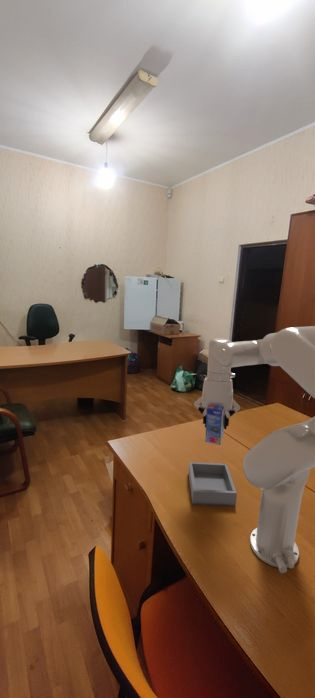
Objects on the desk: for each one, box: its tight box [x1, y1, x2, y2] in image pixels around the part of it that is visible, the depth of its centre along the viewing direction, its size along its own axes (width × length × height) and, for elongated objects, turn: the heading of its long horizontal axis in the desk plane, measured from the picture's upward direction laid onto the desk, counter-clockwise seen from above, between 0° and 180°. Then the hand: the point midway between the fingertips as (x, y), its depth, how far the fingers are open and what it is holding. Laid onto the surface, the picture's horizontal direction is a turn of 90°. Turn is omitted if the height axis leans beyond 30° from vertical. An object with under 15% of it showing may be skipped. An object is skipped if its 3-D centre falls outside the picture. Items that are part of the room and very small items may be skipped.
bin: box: [187, 461, 238, 508], centre depth 105 cm, size 16×14×5 cm
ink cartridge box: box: [204, 406, 225, 446], centre depth 102 cm, size 10×6×14 cm, turn 161°
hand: (215, 426), depth 103 cm, fingers closed on ink cartridge box, 5 cm apart
